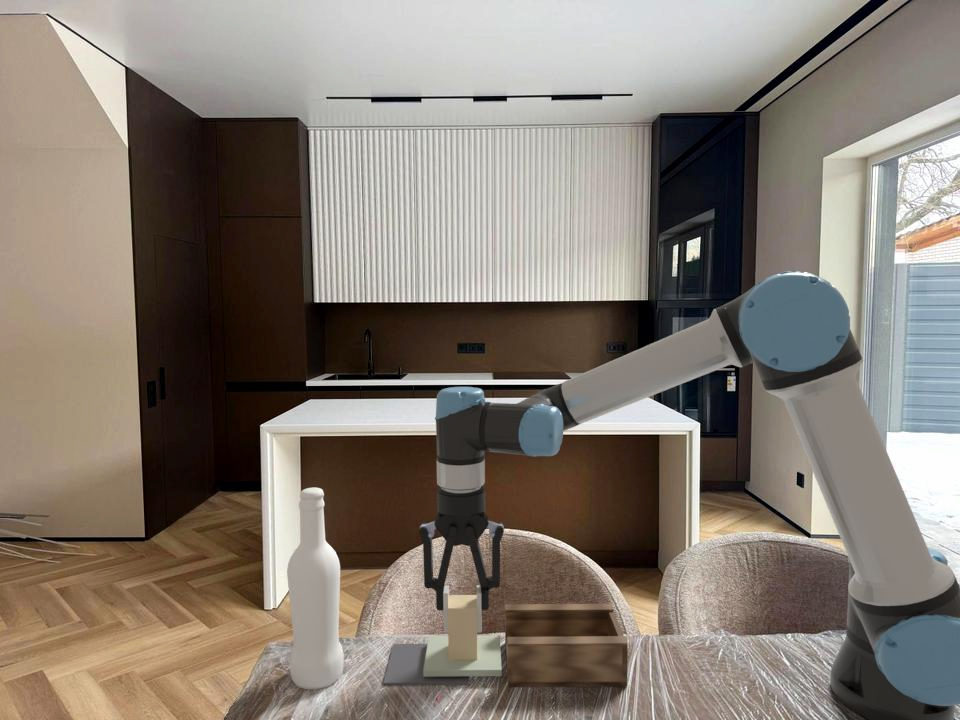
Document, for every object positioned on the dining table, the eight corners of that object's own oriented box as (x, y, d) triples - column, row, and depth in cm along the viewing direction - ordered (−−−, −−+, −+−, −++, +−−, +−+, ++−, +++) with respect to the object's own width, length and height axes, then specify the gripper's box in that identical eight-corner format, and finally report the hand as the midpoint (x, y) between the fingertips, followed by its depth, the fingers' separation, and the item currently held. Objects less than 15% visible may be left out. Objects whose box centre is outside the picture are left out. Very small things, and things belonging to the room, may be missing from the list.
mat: (470, 645, 108) (470, 643, 108) (468, 684, 97) (468, 682, 97) (393, 646, 108) (393, 643, 108) (383, 685, 97) (383, 682, 97)
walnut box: (610, 642, 108) (611, 603, 108) (627, 686, 96) (627, 643, 95) (505, 643, 108) (505, 604, 108) (508, 687, 96) (507, 643, 95)
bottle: (281, 675, 100) (274, 489, 97) (328, 655, 105) (322, 478, 102) (305, 699, 94) (298, 501, 91) (353, 677, 99) (348, 489, 96)
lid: (499, 641, 107) (499, 587, 106) (501, 676, 97) (501, 616, 97) (429, 641, 107) (427, 587, 107) (423, 676, 98) (422, 617, 97)
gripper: (515, 478, 103) (516, 616, 105) (407, 479, 103) (410, 616, 106) (518, 492, 96) (519, 640, 98) (402, 493, 96) (405, 641, 98)
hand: (463, 627), depth 102 cm, fingers closed on lid, 4 cm apart
